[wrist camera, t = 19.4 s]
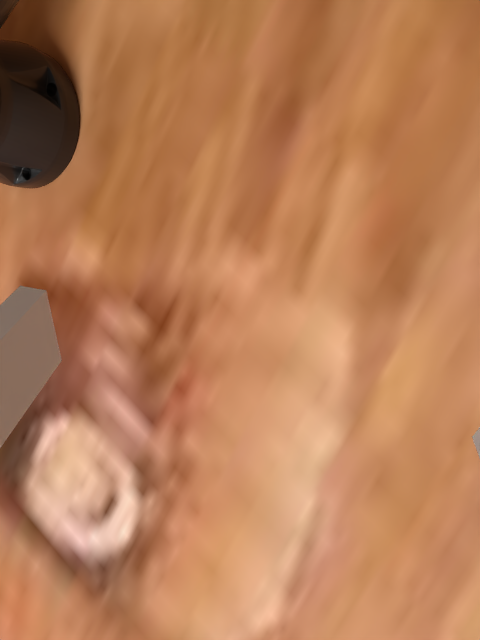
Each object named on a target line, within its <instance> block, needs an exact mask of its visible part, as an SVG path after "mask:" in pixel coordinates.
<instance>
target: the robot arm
mask: <svg viewBox="0 0 480 640" xmlns="http://www.w3.org/2000/svg"><path fill="white" fill-rule="evenodd" d="M18 1H19V0H0V28H1V27H2V25H3V24H4V22H5V21H6V19H7V17H8V16H9V14H10V13H11V11H12V10H13V8H14V7H15V5H16V4H17V2H18ZM78 133H79V109H78V103H77V98H76V95H75V91H74V89H73V86H72V84H71V81H70V79H69V78H68V76H67V74H66V73H65V71H64V70H63V68H62V67H61V66H60V65H59V64H58V63H57V62H56V61H55V60H54V59H53V58H51V57H50V56H48V55H46V54H45V53H43V52H41V51H39V50H37V49H35V48H34V47H32V46H29V45H27V44H24V43H20V42H14V41H5V40H0V183H3V184H6V185H10V186H15V187H22V188H38V187H42V186H45V185H47V184H49V183H50V182H52V181H53V180H55V179H56V178H57V177H58V176H59V175H60V174H61V173H62V172H63V171H64V169H65V168H66V167H67V165H68V163H69V162H70V160H71V158H72V155H73V153H74V150H75V147H76V143H77V139H78ZM61 361H62V360H61V355H60V351H59V346H58V342H57V337H56V333H55V328H54V324H53V319H52V315H51V310H50V306H49V301H48V297H47V292H46V290H40V289H35V288H29V287H23V286H20V287H19V288H17V289H16V290H15V291H14V292H13V293H12V294H11V295H10V296H9V297H8V298H7V299H6V300H5V301H4V302H3V303H2V304H1V305H0V447H1V446H2V445H3V443H4V442H5V440H6V439H7V437H8V436H9V435H10V433H11V432H12V430H13V429H14V427H15V426H16V425H17V423H18V422H19V420H20V419H21V418H22V416H23V415H24V413H25V412H26V410H27V409H28V408H29V406H30V405H31V403H32V402H33V400H34V399H35V398H36V396H37V395H38V393H39V392H40V391H41V389H42V388H43V386H44V385H45V383H46V382H47V381H48V379H49V378H50V376H51V375H52V373H53V372H54V371H55V369H56V368H57V366H58V365H59V363H60V362H61ZM472 438H473V441H474V444H475V447H476V449H477V452H478V455H479V458H480V427H479V429H478V430H477V431H476V433H475V434H474V435H473V437H472Z"/></svg>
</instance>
